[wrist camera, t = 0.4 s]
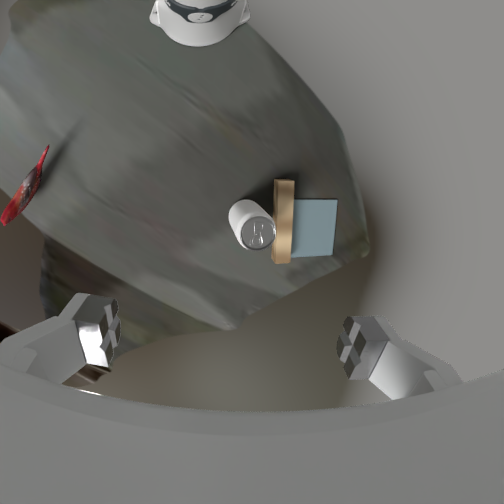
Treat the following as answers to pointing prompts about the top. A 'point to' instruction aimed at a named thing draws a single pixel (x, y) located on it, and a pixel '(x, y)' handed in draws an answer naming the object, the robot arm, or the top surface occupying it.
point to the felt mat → (313, 227)
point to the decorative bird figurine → (24, 192)
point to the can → (252, 225)
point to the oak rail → (283, 219)
